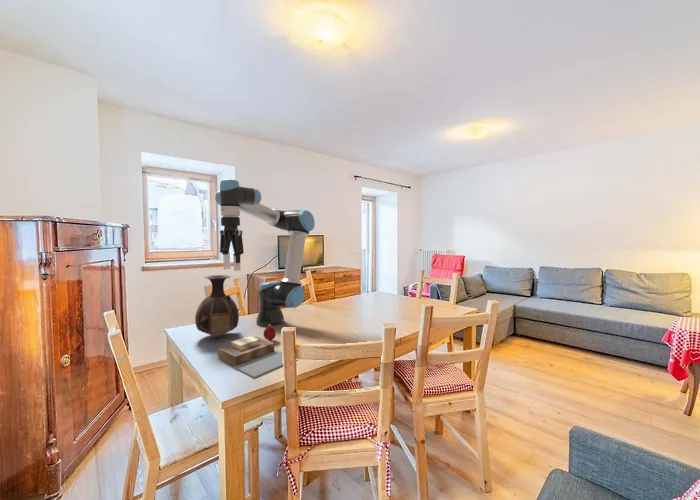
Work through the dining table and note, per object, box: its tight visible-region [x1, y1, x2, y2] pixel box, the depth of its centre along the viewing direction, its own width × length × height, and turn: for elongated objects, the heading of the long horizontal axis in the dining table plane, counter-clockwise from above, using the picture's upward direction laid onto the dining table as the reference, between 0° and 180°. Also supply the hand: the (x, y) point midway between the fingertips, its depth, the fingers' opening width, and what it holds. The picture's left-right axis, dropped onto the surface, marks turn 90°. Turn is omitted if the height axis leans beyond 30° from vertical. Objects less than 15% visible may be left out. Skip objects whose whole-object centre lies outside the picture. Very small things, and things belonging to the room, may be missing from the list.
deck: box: [217, 336, 275, 367], centre depth 128 cm, size 18×13×4 cm
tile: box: [230, 335, 260, 350], centre depth 129 cm, size 9×7×2 cm
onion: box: [263, 324, 277, 342], centre depth 144 cm, size 6×6×8 cm
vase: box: [194, 274, 240, 338], centre depth 150 cm, size 23×19×30 cm
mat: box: [233, 350, 284, 379], centre depth 120 cm, size 20×13×1 cm, turn 141°
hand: (231, 269), depth 133 cm, fingers open, 8 cm apart
